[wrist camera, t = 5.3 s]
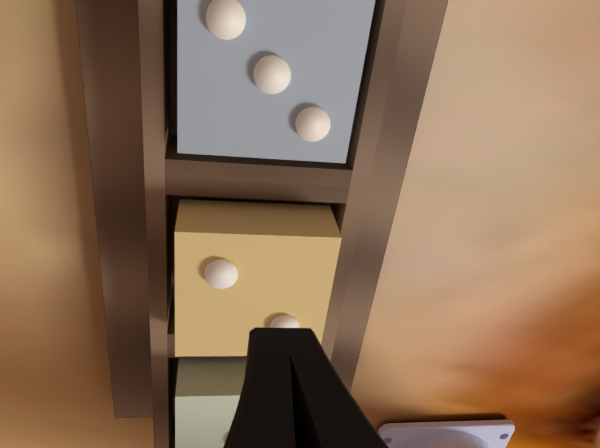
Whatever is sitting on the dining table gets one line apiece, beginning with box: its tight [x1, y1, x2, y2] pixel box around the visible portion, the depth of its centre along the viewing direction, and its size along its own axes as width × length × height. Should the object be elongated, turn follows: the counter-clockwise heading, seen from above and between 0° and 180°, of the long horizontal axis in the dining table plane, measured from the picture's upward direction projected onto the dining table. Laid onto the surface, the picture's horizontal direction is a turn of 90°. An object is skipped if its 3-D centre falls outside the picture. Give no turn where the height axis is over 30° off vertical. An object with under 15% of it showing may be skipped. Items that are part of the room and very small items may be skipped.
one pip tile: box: [175, 357, 247, 448], centre depth 21 cm, size 5×5×2 cm
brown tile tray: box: [75, 0, 448, 448], centre depth 19 cm, size 21×11×3 cm, turn 173°
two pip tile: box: [175, 199, 342, 357], centre depth 17 cm, size 5×5×2 cm
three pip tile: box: [177, 0, 375, 163], centre depth 14 cm, size 5×5×2 cm
